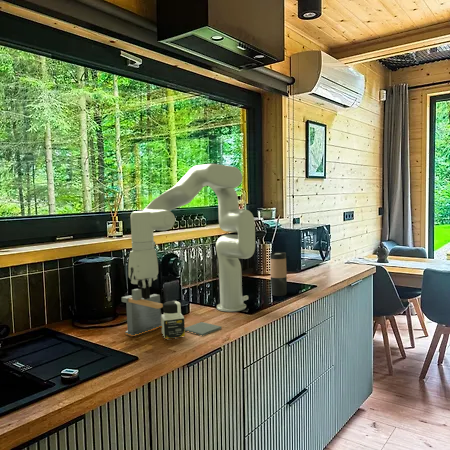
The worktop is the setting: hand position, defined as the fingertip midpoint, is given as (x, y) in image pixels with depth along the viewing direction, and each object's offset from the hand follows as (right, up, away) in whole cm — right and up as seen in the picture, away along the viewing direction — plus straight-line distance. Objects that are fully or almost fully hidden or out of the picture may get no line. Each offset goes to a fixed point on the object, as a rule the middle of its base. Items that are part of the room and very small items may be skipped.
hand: (145, 298), depth 150 cm
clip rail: (-1, -13, +6) cm, 15 cm away
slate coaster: (+20, -12, +5) cm, 24 cm away
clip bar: (0, -1, -4) cm, 5 cm away
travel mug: (+54, -8, +55) cm, 78 cm away
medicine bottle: (+10, -13, 0) cm, 17 cm away
